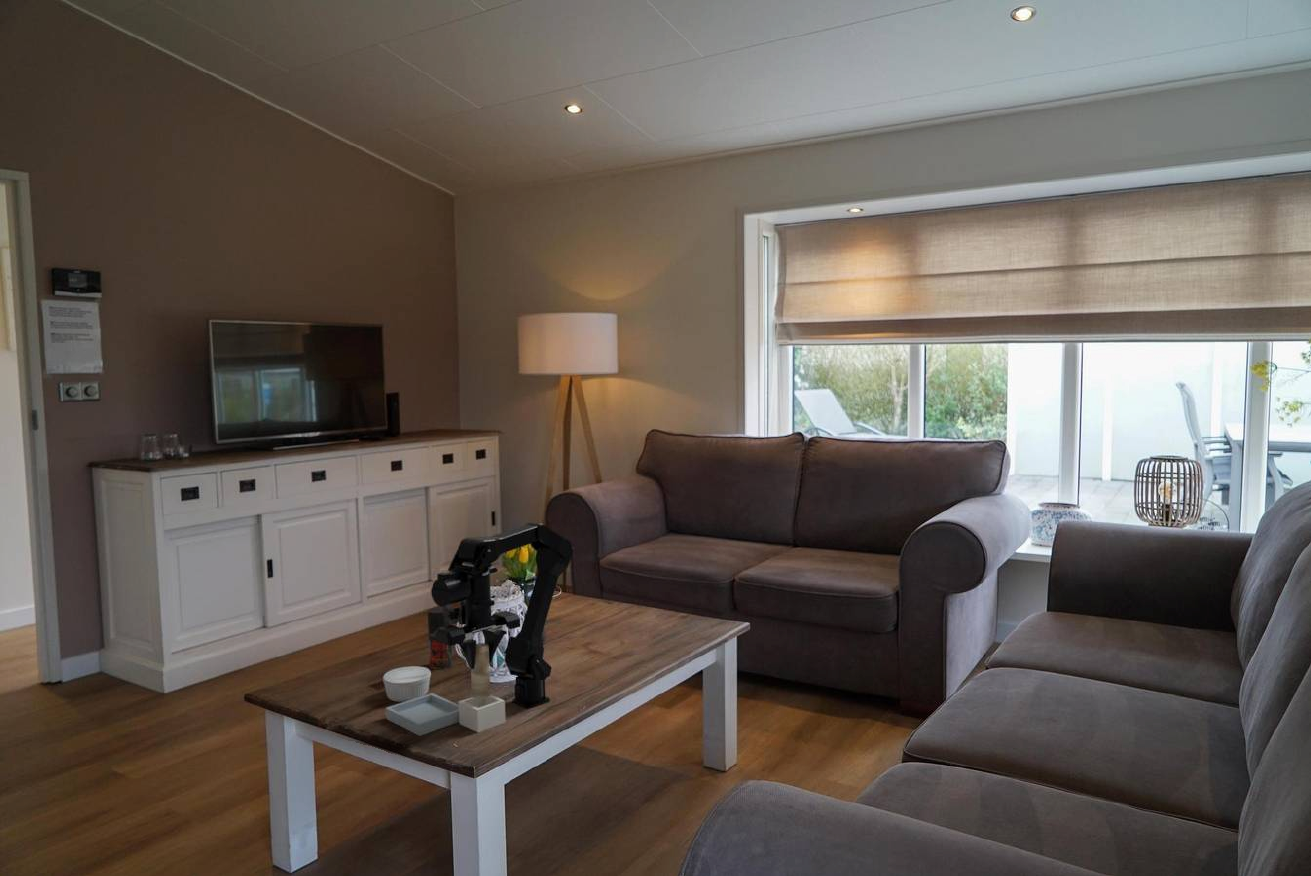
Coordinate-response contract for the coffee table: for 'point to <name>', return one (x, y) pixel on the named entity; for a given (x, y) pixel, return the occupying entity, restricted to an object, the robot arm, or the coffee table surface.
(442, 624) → the deodorant
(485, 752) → the coffee table surface
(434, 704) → the slate tray
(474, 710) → the white open box
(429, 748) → the coffee table surface
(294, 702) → the coffee table surface
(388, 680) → the ramekin
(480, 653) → the beech dowel
